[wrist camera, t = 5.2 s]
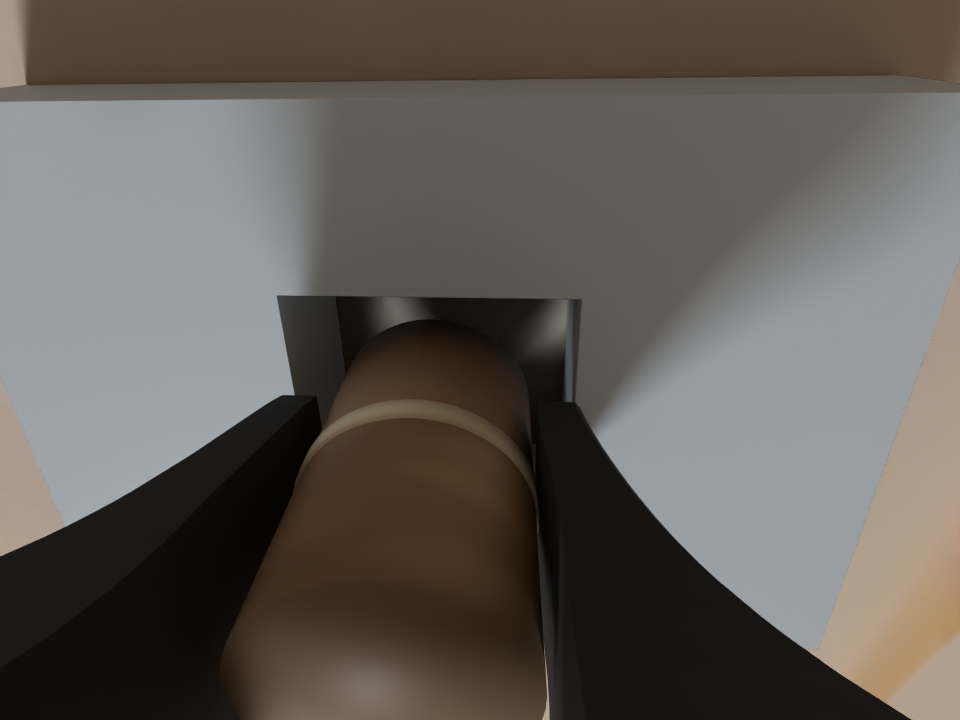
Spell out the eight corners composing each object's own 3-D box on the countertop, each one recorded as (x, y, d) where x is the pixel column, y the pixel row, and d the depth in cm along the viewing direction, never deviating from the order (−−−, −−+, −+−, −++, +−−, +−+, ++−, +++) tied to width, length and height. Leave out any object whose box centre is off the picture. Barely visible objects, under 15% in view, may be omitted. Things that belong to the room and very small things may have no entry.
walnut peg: (543, 326, 11) (576, 594, 6) (520, 485, 13) (529, 798, 8) (339, 307, 11) (194, 559, 6) (343, 469, 13) (234, 773, 8)
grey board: (771, 546, 16) (818, 649, 13) (168, 523, 17) (102, 613, 15) (901, 75, 11) (1020, 91, 8) (24, 84, 12) (-119, 102, 9)
